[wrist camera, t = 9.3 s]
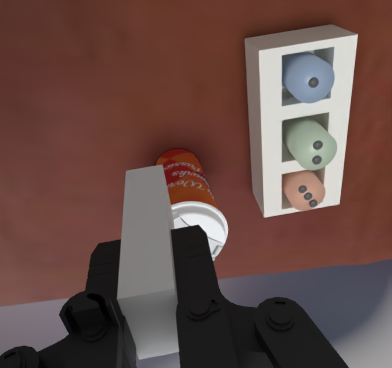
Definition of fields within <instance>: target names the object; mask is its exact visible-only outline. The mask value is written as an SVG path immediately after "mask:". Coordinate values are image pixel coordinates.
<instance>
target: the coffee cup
mask: <svg viewBox="0 0 392 368" xmlns="http://www.w3.org/2000/svg"><path fill="white" fill-rule="evenodd" d="M157 165H163V169H164V174H165V179H166V184H167V189H168V194H169V199H170V203H171V208H172V213H173V219H174V228H175V229H176V228H182V227H188V226H193V225H199V226H200V227H201V228H202V229H203V230H204V231H205V232H206V233H207V237H208V242H209V246H210V250H211V255H212V259H213V260H214V259H215V256H217V255H218V254H219V252H220V251H221V249H222V248H223V245H224V243H225V241H226V238H227V235H228V225H227V222H226V219H225V217H224V216H223V215H222V213H221V212H220V211H219V210H218V208H217V205H216V202H215V200H214V197H213V195H212V192H211V190H210V187H209V185H208V182H207V180H206V177H205V175H204V172H203V170H202V168H201V165H200V163H199V161H198V159H197V158H196V156H195V155H194V154H193V153H191V152H190V151H188V150H185V149H172V150H169V151H167V152H165V153H163V154H162V155H161V156H160V157H159V159H158V160H157V162H156V166H157Z"/></svg>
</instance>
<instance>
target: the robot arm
mask: <svg viewBox="0 0 392 368" xmlns="http://www.w3.org/2000/svg"><path fill="white" fill-rule="evenodd" d="M59 316H60V318H61V320H62V321H63V323H64V325H65V327H66V329H67V331H68V333H69V335H67V336H66V337H65V338H64V339H62V340H61V341H59V342H57V343H55V344H53V345H51V346H49V347H47V348H45V349H43V350H41V351H38V352H36V350H35V349H34V348H32V347H28V346H20V347H15V348H13V349H10V350H8V351H6V352H5V353H3V354H2V355H1V356H0V368H137V367H136V352H137V355H138V357H139V359H144V358H149V357H154V356H160V355H165V354H170V353H176V352H179V356H180V368H349V367H348V366H347V365H346V363H345V362H344V361H343V359H342V358H341V357H340V356H339V354H338V353H337V352H336V351H335V349H334V348H333V347H332V345H331V344H330V343H329V341H328V340H327V339H326V338H325V337H324V335H323V334H322V332H321V331H320V330H319V329H318V328H317V326H316V325H315V323H314V322H313V321H312V320H311V318H310V317H309V316H308V315H307V313H306V312H305V311H304V310H303V308H302V307H300V306H299V305H298V304H297V303H296V302H295V301H292V300H290V299H288V298H282V297H275V298H270V299H266V300H265V301H263V302H262V303H260V304H259V306H258V307H257V308H254V307H244V306H239V305H236V304H234V303H231V302H230V301H228V300H227V299H226V298H225V297H224V296H223V295H222V294H221V292H220V289H219V286H218V281H217V277H216V272H215V268H214V264H213V259H212V255H211V250H210V246H209V242H208V237H207V233H206V232H205V231H204V230H203V229H202V228H201V227H200V226H199V225H193V226H188V227H182V228H176V229H175V228H174V219H173V213H172V208H171V203H170V199H169V194H168V189H167V184H166V179H165V174H164V169H163V165H157V166H151V167H145V168H140V169H134V170H128V171H126V180H125V194H124V208H123V222H122V236H121V239H120V240H115V241H109V242H104V243H99V244H98V245H97V247H96V248H95V250H94V251H93V253H92V254H91V259H90V265H89V271H88V279H87V283H86V289H85V291H83V292H80V293H78V294H76V295H75V296H73V297H71V298H70V299H69V300H68V301H67V302H66V303H65V304H64V305H63V307H62V309H61V311H60V314H59Z"/></svg>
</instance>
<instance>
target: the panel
mask: <svg viewBox="0 0 392 368" xmlns="http://www.w3.org/2000/svg"><path fill="white" fill-rule="evenodd" d="M357 37H358V34H355V33H353V32H350V31H347V30H345V29H342V28H340V27H337V26H335V25H332V24H330V25H324V26H318V27H312V28H305V29H299V30H293V31H287V32H281V33H275V34H268V35H262V36H256V37H250V38H245V56H246V76H247V95H248V114H249V133H250V153H251V172H252V191H253V194H254V196H255V198H256V201H257V203H258V205H259V207H260V209H261V212H262V214H263V216H264V218H265V217H270V216H276V215H281V214H287V213H293V212H298V211H301V210H297V209H295V208H294V207H293V206H292V205H291V203H290V201H289V200H288V198H287V196H286V195H285V193H284V191H283V190H282V174H285V173H290V172H296V171H302V170H307V169H304V168H303V167H301V166H300V165H299V163H298V162H297V161H296V159H295V158H294V156H293V155H292V154H291V152H290V151H289V150H288V148H287V147H286V146H285V144H284V143H283V141H282V122H283V121H284V120H286V119H292V118H298V117H304V116H310V115H311V116H312V117H313V118H314V119H315V120H316V121H317V122H318V123H319V124H320V125H321V126H322V127H323V128H324V129H325V130H326V131H327V132H328V133H329V134H330V135H331V136H332V137H333V138H334V139H335V140H336V143H337V152H336V155H335V157H334V158H333V160H332V161H331V162H330V163H329V164H328V165H326V166H325V167H323V168H321V169H318V170H312V171H313V172H314V174H315V175H316V176H317V178H318V179H319V180H320V182H321V183H322V184H323V185H324V187H325V197H324V199H323V201H322V202H321V203H320V204H319V205H318V206H316V207H315V208H320V207H326V206H331V205H337V204H339V203H340V194H341V185H342V176H343V166H344V157H345V148H346V139H347V129H348V120H349V111H350V102H351V92H352V83H353V74H354V65H355V55H356V46H357ZM305 51H309V52H311V53H313V54H314V55H316V56H317V57H319V58H321V59H322V60H324V61H326V62H327V63H329V64H330V65H331V67H332V68H333V70H334V75H335V80H334V84H333V87H332V89H331V91H330V92H329V93H328V94H327V96H325V97H324V98H323V99H322V100H320V101H318V102H315V103H303V102H300V101H299V100H297V99H296V98H295V97H294V96H293V95H292V94H291V93H290V92H289V91H288V90H287V89H286V88H285V87H284V86H283V85H282V55H286V54H292V53H299V52H305ZM315 208H313V209H315Z"/></svg>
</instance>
